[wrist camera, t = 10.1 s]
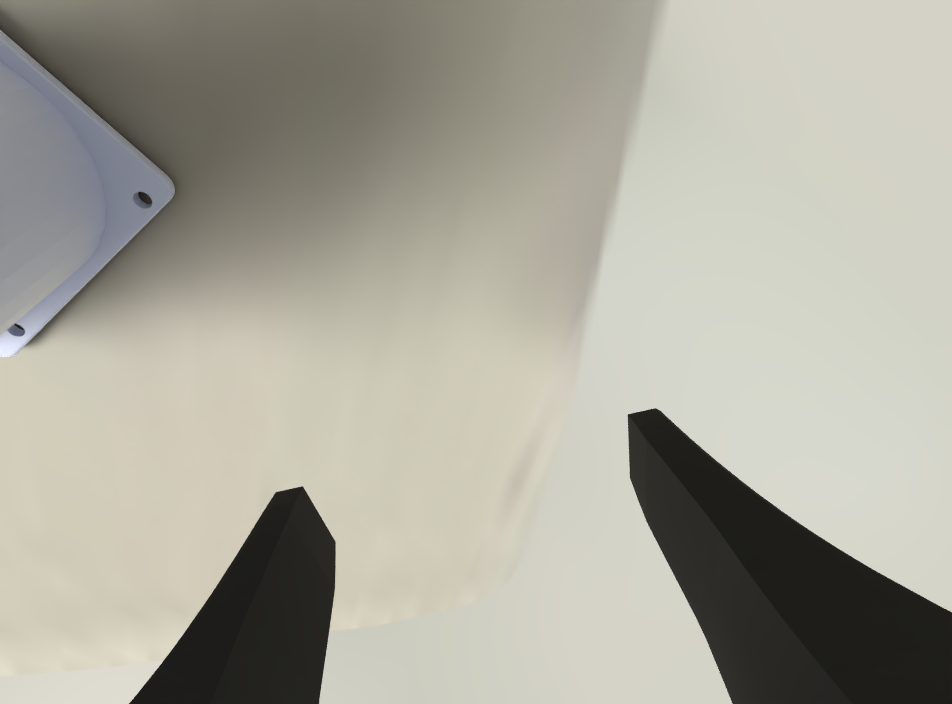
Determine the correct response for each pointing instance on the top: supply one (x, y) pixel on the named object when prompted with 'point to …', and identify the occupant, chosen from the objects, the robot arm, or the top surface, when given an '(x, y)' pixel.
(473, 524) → the top surface
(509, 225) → the top surface
